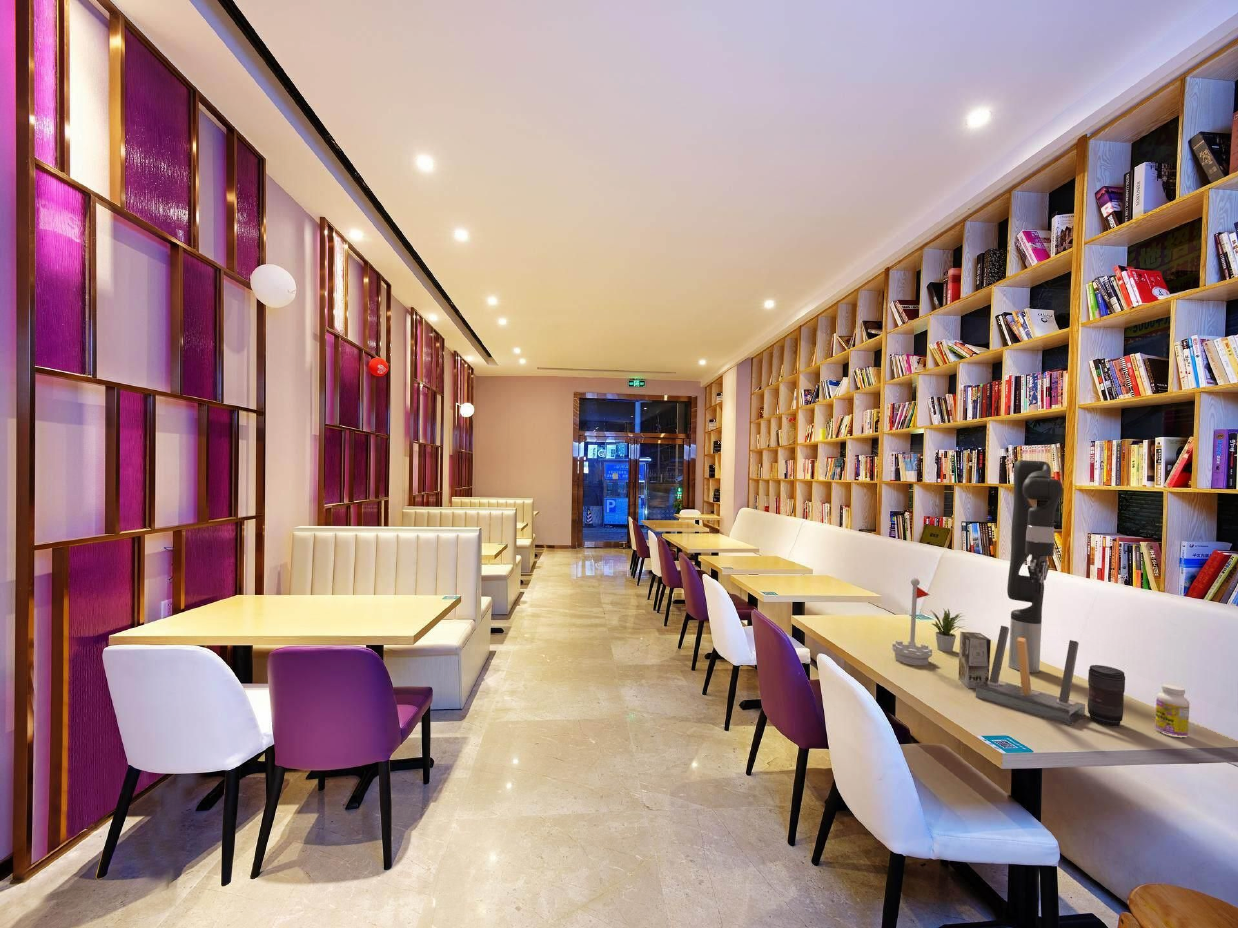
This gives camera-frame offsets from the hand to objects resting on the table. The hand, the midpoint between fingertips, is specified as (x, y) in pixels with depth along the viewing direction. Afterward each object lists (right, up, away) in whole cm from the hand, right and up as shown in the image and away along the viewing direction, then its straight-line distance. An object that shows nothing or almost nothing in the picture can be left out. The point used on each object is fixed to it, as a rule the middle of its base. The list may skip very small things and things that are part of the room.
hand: (1037, 593), depth 195 cm
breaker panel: (-12, -30, -14) cm, 36 cm away
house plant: (-6, -31, +41) cm, 52 cm away
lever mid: (-14, -26, -15) cm, 33 cm away
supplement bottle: (+16, -32, -30) cm, 46 cm away
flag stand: (-28, -30, +26) cm, 49 cm away
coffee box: (-19, -30, +3) cm, 36 cm away
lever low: (-19, -26, -8) cm, 33 cm away
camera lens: (+2, -31, -24) cm, 39 cm away
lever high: (-8, -27, -22) cm, 35 cm away
